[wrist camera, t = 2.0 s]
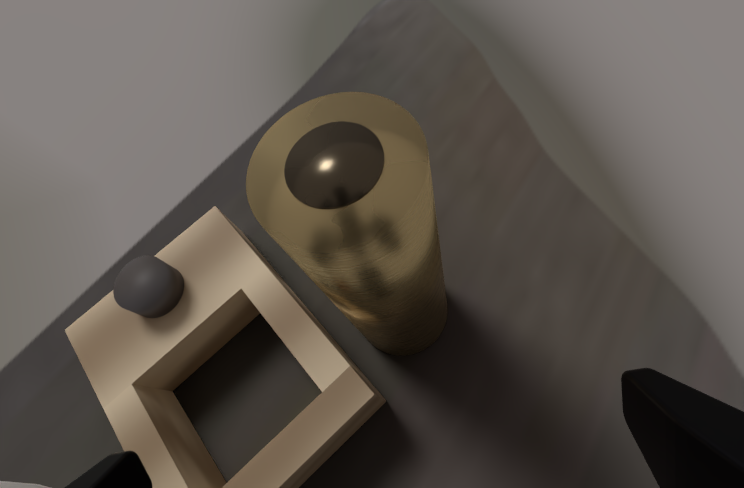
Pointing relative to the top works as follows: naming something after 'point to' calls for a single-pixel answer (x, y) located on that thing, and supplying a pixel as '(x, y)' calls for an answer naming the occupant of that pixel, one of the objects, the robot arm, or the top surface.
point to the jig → (200, 342)
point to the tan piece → (356, 213)
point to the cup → (20, 485)
